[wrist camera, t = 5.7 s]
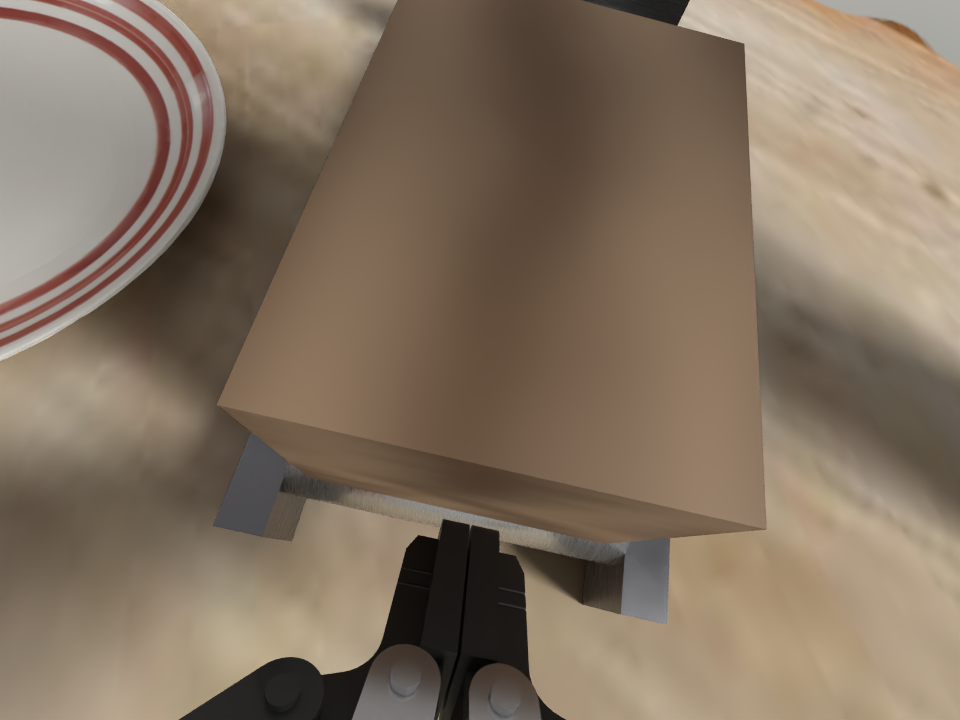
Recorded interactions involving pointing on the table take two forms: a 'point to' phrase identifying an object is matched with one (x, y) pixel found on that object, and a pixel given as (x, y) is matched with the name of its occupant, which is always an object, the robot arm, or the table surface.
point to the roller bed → (609, 567)
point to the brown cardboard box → (527, 279)
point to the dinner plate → (96, 153)
